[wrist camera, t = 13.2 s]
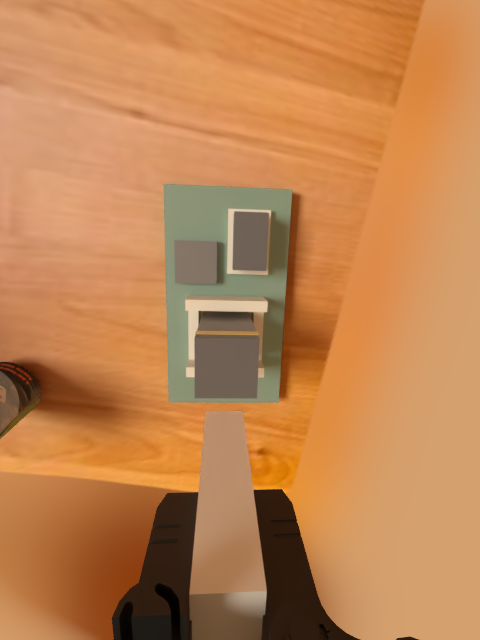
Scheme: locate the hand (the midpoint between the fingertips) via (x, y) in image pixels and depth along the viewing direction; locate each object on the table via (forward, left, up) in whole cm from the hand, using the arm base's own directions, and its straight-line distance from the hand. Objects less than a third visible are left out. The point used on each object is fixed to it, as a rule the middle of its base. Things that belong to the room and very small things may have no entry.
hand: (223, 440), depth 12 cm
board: (-2, 0, -20) cm, 20 cm away
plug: (+1, 0, -19) cm, 19 cm away
